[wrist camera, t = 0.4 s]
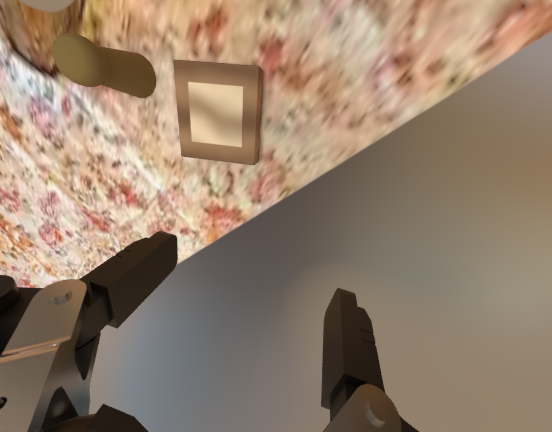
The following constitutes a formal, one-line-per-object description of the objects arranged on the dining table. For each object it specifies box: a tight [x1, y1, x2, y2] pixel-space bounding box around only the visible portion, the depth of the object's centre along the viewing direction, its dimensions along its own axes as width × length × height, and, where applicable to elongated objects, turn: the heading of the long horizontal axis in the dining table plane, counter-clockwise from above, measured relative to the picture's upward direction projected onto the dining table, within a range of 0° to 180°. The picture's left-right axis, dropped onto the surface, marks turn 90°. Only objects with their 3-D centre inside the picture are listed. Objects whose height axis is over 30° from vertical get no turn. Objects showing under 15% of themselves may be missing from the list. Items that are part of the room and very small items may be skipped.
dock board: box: [173, 60, 263, 165], centre depth 33 cm, size 13×12×3 cm
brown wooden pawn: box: [52, 33, 156, 98], centre depth 29 cm, size 6×6×11 cm
